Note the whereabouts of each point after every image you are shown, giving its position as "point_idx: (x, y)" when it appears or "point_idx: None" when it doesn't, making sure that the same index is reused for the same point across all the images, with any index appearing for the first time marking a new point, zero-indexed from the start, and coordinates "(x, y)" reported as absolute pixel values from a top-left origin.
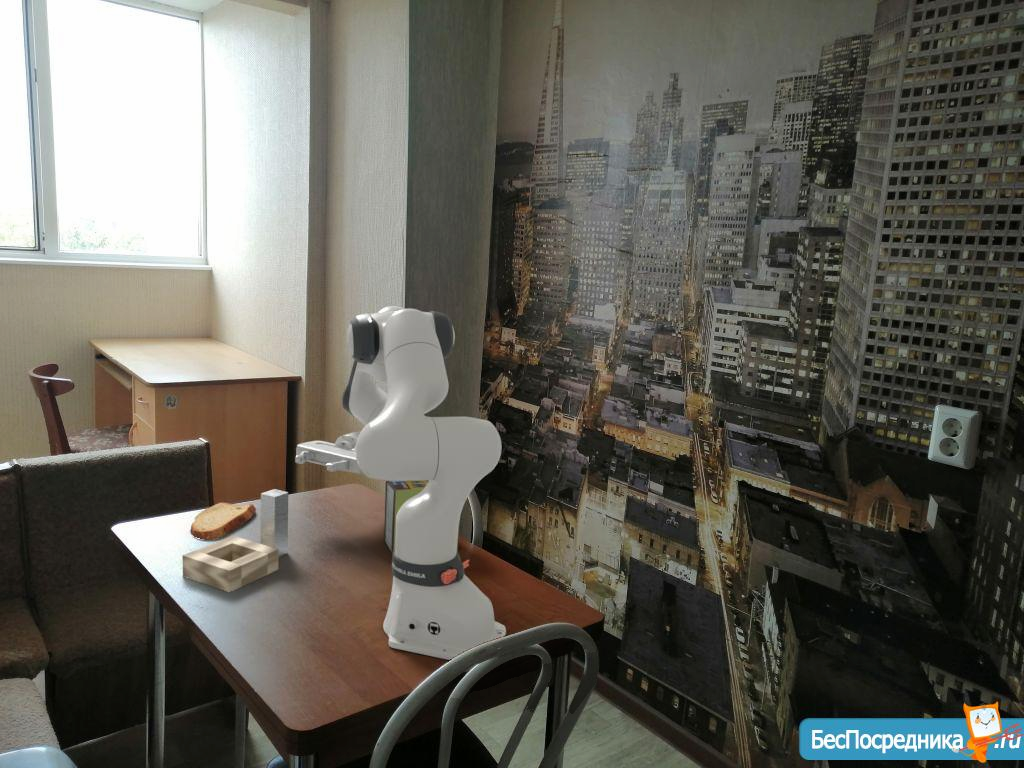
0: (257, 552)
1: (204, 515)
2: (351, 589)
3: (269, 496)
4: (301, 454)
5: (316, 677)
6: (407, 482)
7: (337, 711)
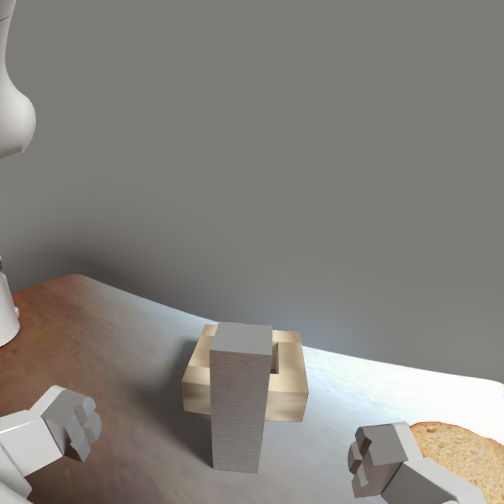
0: (208, 364)
1: (494, 451)
2: (49, 381)
3: (239, 325)
4: (417, 460)
5: (70, 292)
6: None
7: (56, 279)
